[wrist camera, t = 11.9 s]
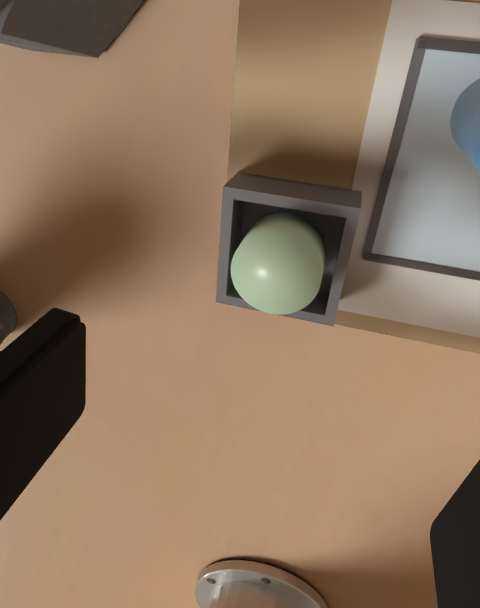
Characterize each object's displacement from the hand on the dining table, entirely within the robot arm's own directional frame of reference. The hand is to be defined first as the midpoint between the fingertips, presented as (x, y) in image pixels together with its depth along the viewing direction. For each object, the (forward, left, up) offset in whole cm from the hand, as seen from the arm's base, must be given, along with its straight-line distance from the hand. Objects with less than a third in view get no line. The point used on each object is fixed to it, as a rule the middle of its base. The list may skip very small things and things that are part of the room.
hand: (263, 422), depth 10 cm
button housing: (-1, +1, -14) cm, 14 cm away
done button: (-1, +1, -12) cm, 12 cm away
